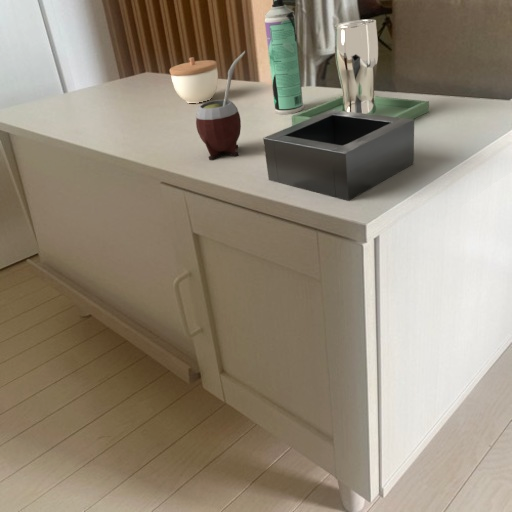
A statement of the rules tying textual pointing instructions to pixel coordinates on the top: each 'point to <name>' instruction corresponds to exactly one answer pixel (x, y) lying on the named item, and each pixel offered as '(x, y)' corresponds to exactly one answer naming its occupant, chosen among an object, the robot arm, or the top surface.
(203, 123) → the mate gourd
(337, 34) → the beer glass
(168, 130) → the top surface
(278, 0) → the spray can
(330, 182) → the basin
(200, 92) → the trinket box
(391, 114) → the tray
